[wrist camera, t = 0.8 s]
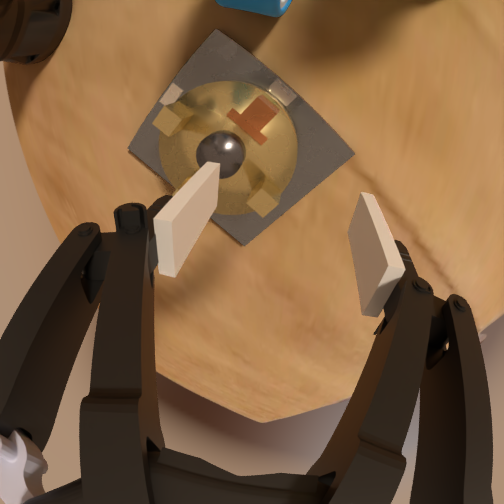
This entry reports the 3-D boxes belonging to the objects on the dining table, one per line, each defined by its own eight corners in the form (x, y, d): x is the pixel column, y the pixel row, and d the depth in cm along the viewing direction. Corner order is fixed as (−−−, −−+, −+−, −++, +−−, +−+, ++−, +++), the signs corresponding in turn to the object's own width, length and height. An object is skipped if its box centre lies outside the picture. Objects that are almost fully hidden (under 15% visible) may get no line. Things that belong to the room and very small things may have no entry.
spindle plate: (131, 146, 35) (126, 148, 34) (218, 29, 24) (215, 28, 23) (245, 242, 41) (244, 247, 40) (353, 151, 31) (355, 154, 30)
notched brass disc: (148, 151, 34) (121, 167, 29) (223, 54, 25) (204, 50, 20) (237, 225, 38) (225, 254, 33) (326, 146, 30) (331, 163, 25)
